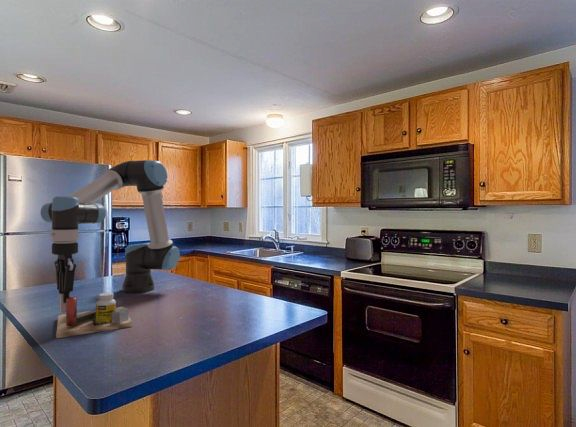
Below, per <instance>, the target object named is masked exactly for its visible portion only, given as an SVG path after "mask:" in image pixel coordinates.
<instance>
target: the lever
mask: <svg viewBox="0 0 576 427" xmlns="http://www.w3.org/2000/svg"><path fill="white" fill-rule="evenodd" d="M77 301H78V300H77V296H70V297H68V298H66V312H65V314H66V326H74V325H76V324H79V323H82V322H85V321H87V320H90V319H93V318H96V309H94V310H89V311H90V312H87V313H84V314H81V315H78V316H77V313H78V310H77Z"/></svg>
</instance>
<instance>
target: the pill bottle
mask: <svg viewBox="0 0 576 427" xmlns="http://www.w3.org/2000/svg"><path fill="white" fill-rule="evenodd" d="M95 303H96V304H95V305H96V306H95V310H96V323H95V326H96V325H103V324H109V323H112V312H113V311H115V310H116V308H117V306H116V305H117V302H116V300H115V299H114V292H102V293H99V294H98V300H97V301H96V302H95Z"/></svg>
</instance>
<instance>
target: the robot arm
mask: <svg viewBox="0 0 576 427" xmlns="http://www.w3.org/2000/svg"><path fill="white" fill-rule="evenodd" d="M167 179H168V172H167V169H166V167H165V166H164V164H163V163H162V162H161V161H159V160H152V159H147V160H146V159H145V160H144V159H141V160H127V161H124V162H121V163H119V164H116V165H114V166H112V167H110V168H108V169H107V170H105V171H104V172H103V174H102V175H101V176H99V177H98V178H96V179H95V180H93V181H91V182H89V183H88V184H86V185H84V186H82V187H80V188H79V189H77V190H76V191H73V192H72V193H70V194H68V195H66V196H62V195H61V196H60V195H59V196H54V197H52V202H47V203H45V204H43V206H41V208H40V216H41V218H42V220H43V221H44V222H47V223H51V229H52V230H51V232H50V233H49V234H50V236H51V240H52V243H51V254H52V255H57V259H56V260H55V261H54V266H55V278H56V289H57V290H58V293H59V294H58V295H59V313H60V314H63V313H66V298H68V297H71V292H73V291H74V285H75V284H74V282H75V273H76V272H75V271H76V267H77V265H76V264H75V263H74V259H73V255H75V254H78V253H79V242H77V241H79V225H80V224H84V225H85V224H100V223H103V221H104V220H105V218H106V217H107V211H106V208H105V206H104V205H103V204H101V203H97V202H98V201H99V200H101V199H102V198H104V197H105V196H107V195H108V194H110V193H111V192H113V191H119V190H120V189H122V188H123V187H136V191H137V192H138V193H139V194H141V196H142V203H143V204H142V205H143V208H144V213H145V220H146V225H147V229H148V230H147V231H148V234H149V235H148V236H149V241H150V242H144V243H137V244H130V245H129V244H128V245H127V246H126V247H125V254H124V255H125V276H124V279H123V282H122V286H121V291H122V292H123V293H126V294H127V293H130V294H133V293H144V292H150V291H153V290H154V289H155V282H154V278H153V276H152V272H151V271H152V270H153V271H173V270H174V269H175V268H176V267H177V266H178V264H179V261H180V255H181V254H180V249H179V247H177V246H175V245H174V242H173V240H172V239H170V237H169V231H168V226H167V225H168V224H167V219H166V214H165V208H164V202H163V196H162V191H163V190H164V188H165V187H164V186H165V185H166V183H167V181H168V180H167Z"/></svg>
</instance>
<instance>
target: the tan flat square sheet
mask: <svg viewBox="0 0 576 427" xmlns="http://www.w3.org/2000/svg"><path fill="white" fill-rule="evenodd" d="M119 308H125V306H119V307H117V306H116V310H117V309H119ZM90 311H91V310H88V311H87V310H86V311H80V312H77V316H78V315H81V314H84V313H87V312H90ZM94 324H95V325H94ZM130 327H133V321H132V319H131V318H130V316H129V319H128V320H126V321H125V322H123V323H121V328H120V329H124V328H130ZM118 329H119V324H112V323H109V324H103V325H96V318H93V319H90V320H87V321H85V322H82V323H79V324H76V325H74V326H66V313H65V314H63V313H62V314H58V316H57V324H56V334H55V336H56V337H55V338H56V339H60V338H68V337H69V338H70V337H74V336H78V335H79V336H80V335H81V336H82V335H86V334H92V333H98V332H105V331H112V330H118Z"/></svg>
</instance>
